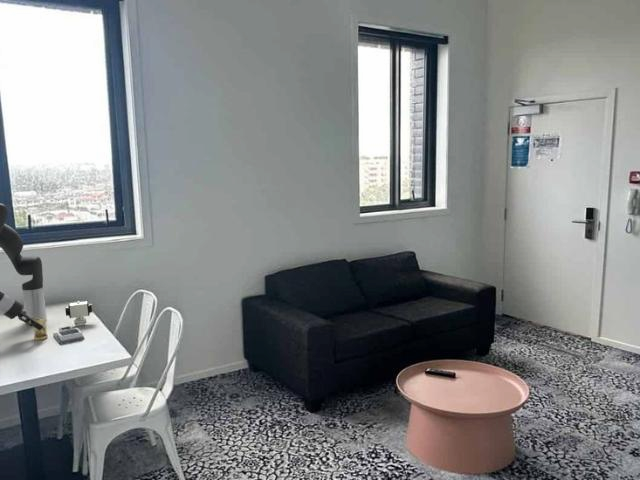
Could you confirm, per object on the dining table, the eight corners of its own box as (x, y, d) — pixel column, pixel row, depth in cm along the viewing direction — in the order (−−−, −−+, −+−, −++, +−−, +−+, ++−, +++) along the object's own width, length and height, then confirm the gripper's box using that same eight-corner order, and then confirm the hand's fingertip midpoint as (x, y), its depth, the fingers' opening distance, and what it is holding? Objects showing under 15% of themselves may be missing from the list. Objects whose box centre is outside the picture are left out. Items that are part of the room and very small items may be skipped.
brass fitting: (33, 338, 238) (31, 319, 237) (46, 335, 241) (44, 316, 240) (35, 341, 234) (33, 321, 233) (48, 338, 237) (46, 319, 236)
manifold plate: (53, 335, 241) (52, 329, 240) (76, 331, 247) (75, 324, 246) (59, 344, 229) (59, 337, 228) (84, 339, 235) (83, 332, 234)
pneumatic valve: (93, 324, 257) (91, 300, 255) (67, 328, 252) (64, 303, 250) (93, 321, 262) (91, 298, 260) (67, 325, 257) (65, 301, 255)
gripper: (16, 302, 224) (48, 323, 232) (12, 296, 235) (43, 316, 244) (3, 316, 222) (36, 337, 230) (-1, 310, 233) (31, 329, 241)
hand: (40, 326), depth 237 cm, fingers open, 8 cm apart
